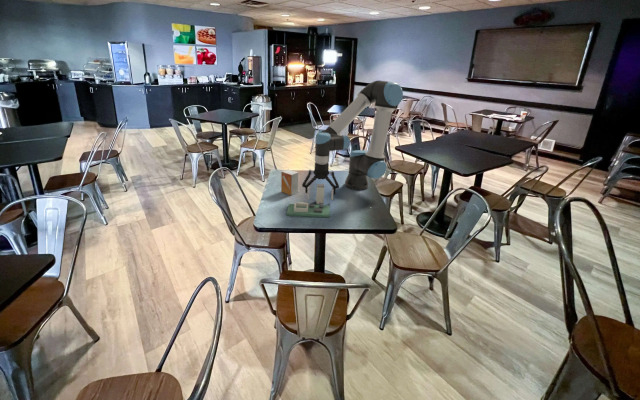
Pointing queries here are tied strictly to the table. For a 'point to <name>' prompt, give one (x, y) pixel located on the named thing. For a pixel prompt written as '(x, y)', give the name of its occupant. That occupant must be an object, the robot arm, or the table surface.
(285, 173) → the small box
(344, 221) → the table surface
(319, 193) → the plug
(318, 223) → the table surface
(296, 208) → the board
